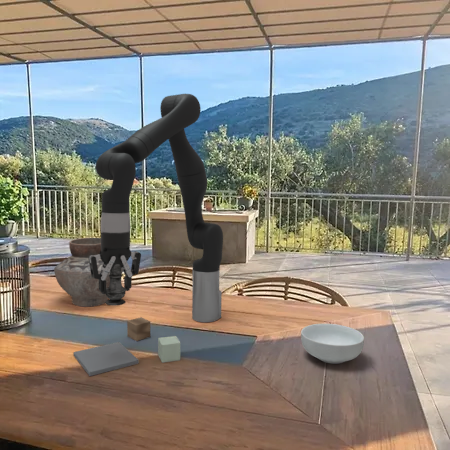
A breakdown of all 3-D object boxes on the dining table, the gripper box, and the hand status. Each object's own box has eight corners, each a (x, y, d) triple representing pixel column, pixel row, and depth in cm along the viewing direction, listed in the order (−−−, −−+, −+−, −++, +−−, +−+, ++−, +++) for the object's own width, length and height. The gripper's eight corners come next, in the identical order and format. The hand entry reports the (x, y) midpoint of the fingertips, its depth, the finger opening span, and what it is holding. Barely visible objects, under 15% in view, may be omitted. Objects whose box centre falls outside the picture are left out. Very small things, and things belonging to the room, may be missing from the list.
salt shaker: (121, 306, 112) (121, 261, 111) (100, 304, 113) (100, 260, 112) (130, 300, 118) (130, 257, 117) (110, 298, 119) (110, 256, 118)
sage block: (175, 352, 121) (175, 335, 121) (180, 360, 117) (180, 342, 116) (158, 355, 120) (158, 338, 119) (162, 362, 115) (162, 345, 114)
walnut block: (141, 332, 136) (141, 317, 135) (150, 337, 132) (150, 321, 132) (127, 336, 132) (127, 321, 132) (136, 341, 129) (136, 325, 128)
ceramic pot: (113, 313, 152) (112, 247, 149) (43, 312, 152) (41, 245, 149) (130, 293, 177) (129, 235, 173) (70, 291, 177) (68, 234, 174)
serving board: (119, 345, 125) (119, 341, 125) (138, 363, 114) (138, 359, 114) (73, 355, 118) (73, 352, 118) (89, 376, 107) (89, 372, 107)
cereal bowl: (363, 350, 125) (365, 327, 124) (361, 376, 110) (363, 349, 109) (304, 341, 131) (305, 319, 130) (295, 365, 115) (296, 339, 114)
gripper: (135, 226, 121) (134, 285, 123) (83, 229, 112) (83, 292, 114) (146, 230, 114) (146, 291, 116) (93, 232, 106) (93, 299, 108)
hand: (115, 291), depth 115 cm, fingers closed on salt shaker, 6 cm apart
